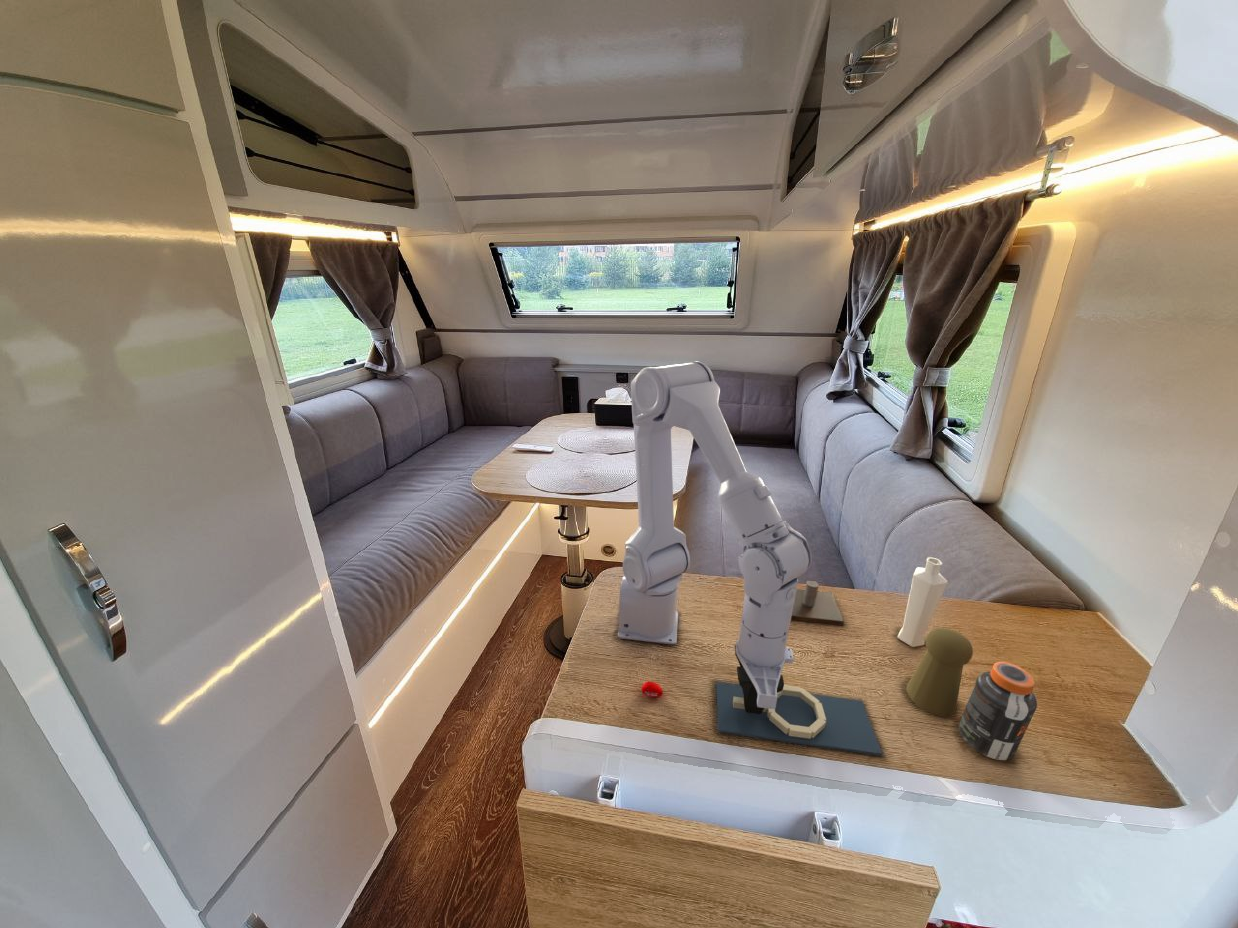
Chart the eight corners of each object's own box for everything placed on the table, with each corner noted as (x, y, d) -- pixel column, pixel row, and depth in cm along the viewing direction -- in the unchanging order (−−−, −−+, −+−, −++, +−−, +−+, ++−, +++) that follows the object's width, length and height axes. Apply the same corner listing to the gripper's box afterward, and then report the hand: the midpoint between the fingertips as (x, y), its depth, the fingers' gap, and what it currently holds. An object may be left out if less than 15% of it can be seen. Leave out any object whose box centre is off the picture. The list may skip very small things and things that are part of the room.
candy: (640, 699, 66) (641, 689, 65) (642, 687, 68) (642, 677, 67) (662, 701, 65) (663, 691, 65) (662, 690, 67) (663, 680, 67)
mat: (718, 732, 61) (718, 730, 61) (715, 683, 69) (716, 681, 68) (882, 756, 59) (882, 753, 58) (861, 702, 66) (862, 700, 66)
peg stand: (759, 615, 82) (762, 592, 80) (754, 587, 90) (757, 565, 88) (843, 625, 80) (849, 601, 79) (831, 595, 88) (836, 573, 86)
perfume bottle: (896, 644, 76) (919, 565, 71) (893, 626, 80) (915, 551, 75) (929, 652, 75) (955, 572, 69) (924, 634, 79) (948, 557, 73)
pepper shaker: (941, 682, 69) (963, 622, 65) (965, 718, 64) (990, 654, 60) (898, 678, 70) (917, 618, 66) (918, 713, 64) (940, 650, 60)
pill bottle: (1017, 771, 57) (1050, 701, 53) (958, 746, 60) (985, 678, 56) (1011, 733, 62) (1041, 667, 57) (956, 712, 65) (981, 647, 60)
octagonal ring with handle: (816, 694, 66) (820, 677, 65) (829, 741, 59) (834, 723, 58) (731, 683, 68) (733, 666, 67) (734, 728, 61) (737, 709, 60)
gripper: (811, 671, 51) (792, 757, 57) (788, 589, 65) (774, 665, 70) (745, 662, 52) (732, 748, 57) (735, 584, 66) (725, 659, 71)
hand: (752, 702), depth 64 cm, fingers closed on octagonal ring with handle, 2 cm apart
